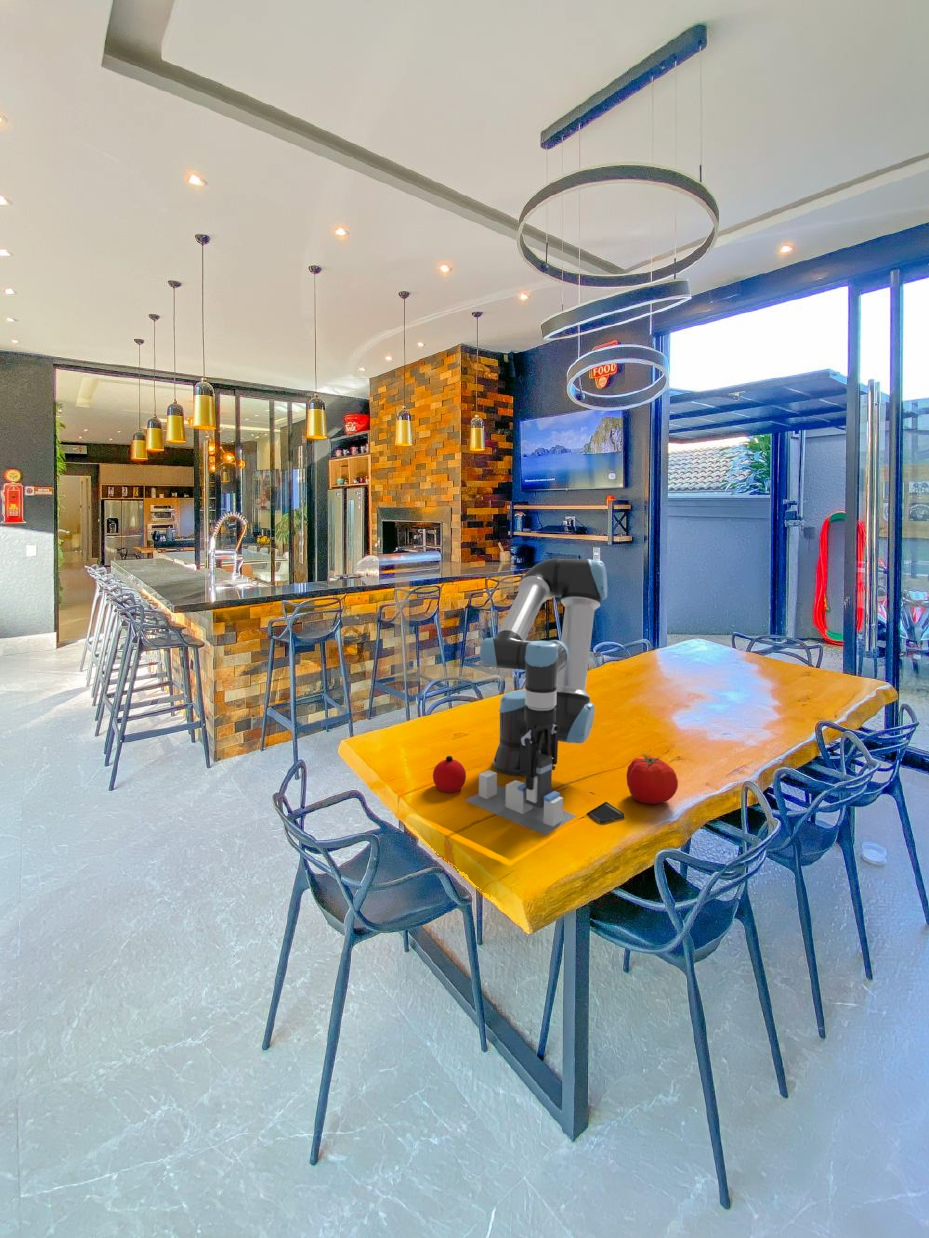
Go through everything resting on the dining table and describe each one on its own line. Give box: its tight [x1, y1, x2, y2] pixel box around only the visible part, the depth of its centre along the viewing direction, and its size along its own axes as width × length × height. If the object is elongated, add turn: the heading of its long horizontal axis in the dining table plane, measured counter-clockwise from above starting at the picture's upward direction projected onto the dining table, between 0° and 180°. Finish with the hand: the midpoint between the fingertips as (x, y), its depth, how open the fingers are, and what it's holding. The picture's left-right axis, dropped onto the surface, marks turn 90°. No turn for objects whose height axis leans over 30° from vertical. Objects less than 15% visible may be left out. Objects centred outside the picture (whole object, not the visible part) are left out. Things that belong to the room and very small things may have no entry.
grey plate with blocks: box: [464, 769, 577, 838], centre depth 162 cm, size 13×26×8 cm, turn 46°
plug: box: [525, 752, 553, 809], centre depth 157 cm, size 5×5×12 cm
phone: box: [586, 791, 625, 824], centre depth 164 cm, size 8×1×15 cm
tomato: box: [626, 753, 679, 805], centre depth 168 cm, size 12×13×12 cm
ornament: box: [432, 755, 467, 794], centre depth 173 cm, size 9×9×10 cm
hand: (538, 797), depth 157 cm, fingers closed on plug, 4 cm apart
